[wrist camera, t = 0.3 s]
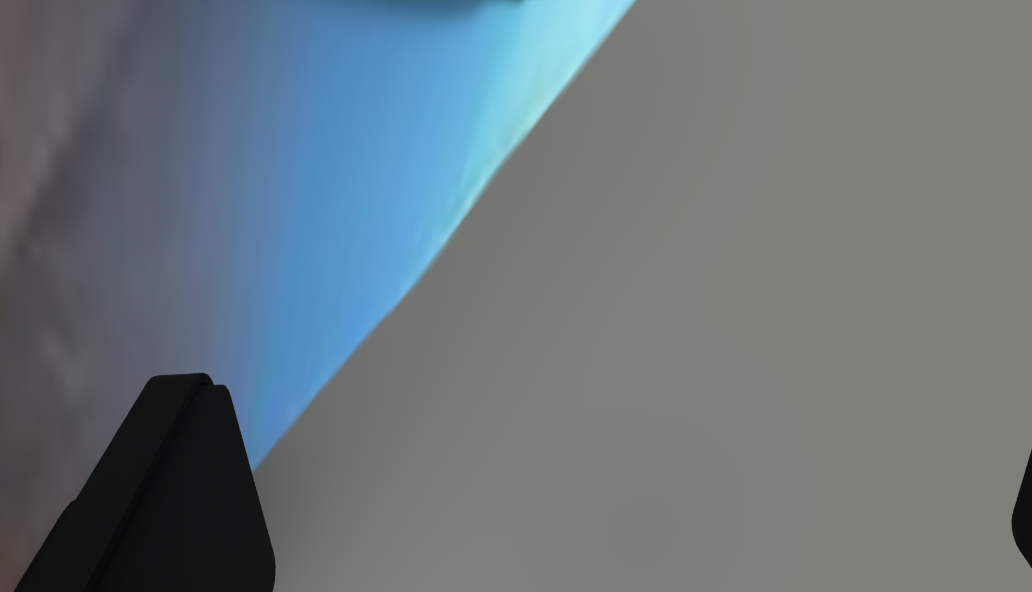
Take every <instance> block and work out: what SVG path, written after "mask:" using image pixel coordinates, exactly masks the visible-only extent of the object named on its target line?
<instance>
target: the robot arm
mask: <svg viewBox="0 0 1032 592" xmlns="http://www.w3.org/2000/svg"><path fill="white" fill-rule="evenodd" d="M1012 532H1013V536H1014V539H1015V542H1016V545H1017V546H1018V548H1019V550H1020V552H1021V553H1022V555H1023V556H1024V557H1025V559H1026V560H1027V562H1028V563H1029V565H1030V566H1031V568H1032V450H1031V454H1030V457H1029V460H1028V464H1027V467H1026V471H1025V474H1024V477H1023V481H1022V484H1021V487H1020V491H1019V494H1018V497H1017V501H1016V504H1015V508H1014V511H1013V514H1012ZM274 583H275V557H274V552H273V548H272V545H271V542H270V538H269V534H268V530H267V527H266V523H265V520H264V516H263V512H262V509H261V505H260V501H259V497H258V494H257V490H256V487H255V483H254V479H253V476H252V472H251V468H250V465H249V461H248V457H247V454H246V450H245V446H244V443H243V439H242V435H241V432H240V428H239V424H238V421H237V417H236V414H235V410H234V406H233V403H232V399H231V396H230V393H229V390H228V389H227V387H226V386H224V385H214V384H213V382H212V380H211V378H210V377H209V376H208V375H207V374H205V373H193V374H176V375H158V376H154V377H152V378H151V379H150V380H149V381H148V382H147V384H146V385H145V387H144V388H143V390H142V392H141V393H140V395H139V397H138V398H137V400H136V402H135V403H134V405H133V407H132V408H131V410H130V411H129V413H128V415H127V416H126V418H125V420H124V421H123V423H122V425H121V426H120V428H119V429H118V431H117V433H116V434H115V436H114V438H113V439H112V441H111V443H110V444H109V446H108V448H107V449H106V451H105V452H104V454H103V456H102V457H101V459H100V461H99V462H98V464H97V466H96V467H95V469H94V470H93V472H92V474H91V475H90V477H89V479H88V480H87V482H86V484H85V485H84V487H83V489H82V490H81V492H80V493H79V495H78V497H77V498H76V500H74V501H72V502H71V503H70V504H69V505H68V506H67V508H66V509H65V510H64V511H63V512H62V514H61V515H60V517H59V519H58V520H57V522H56V524H55V525H54V527H53V528H52V530H51V532H50V533H49V535H48V537H47V538H46V540H45V541H44V543H43V545H42V546H41V548H40V549H39V551H38V553H37V554H36V556H35V558H34V559H33V561H32V562H31V564H30V566H29V567H28V569H27V571H26V572H25V574H24V575H23V577H22V579H21V580H20V582H19V584H18V585H17V587H16V588H15V590H14V592H272V591H273V587H274Z"/></svg>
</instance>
